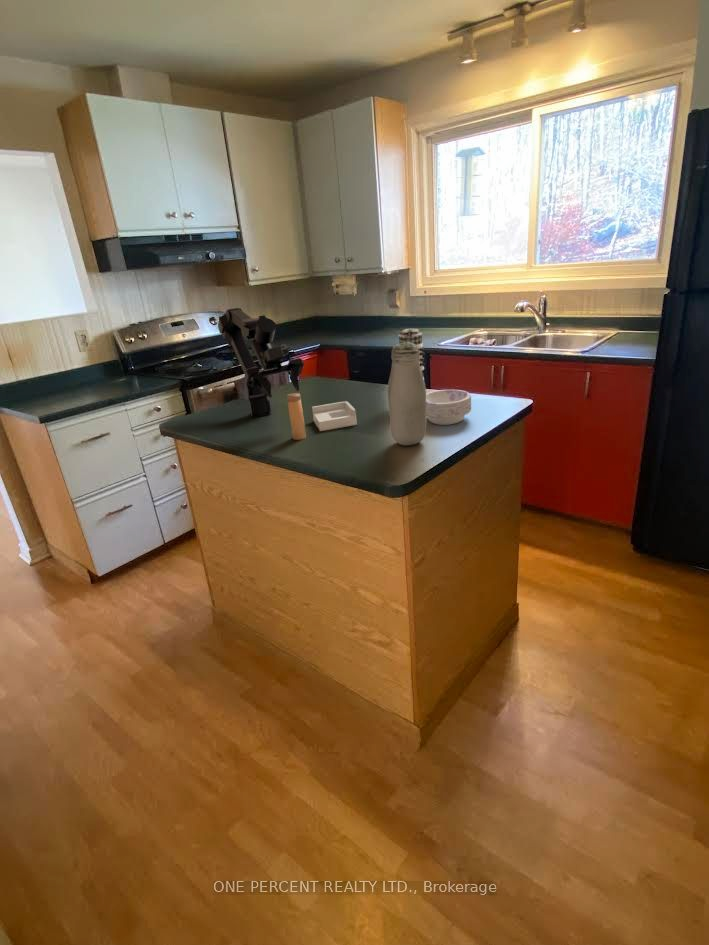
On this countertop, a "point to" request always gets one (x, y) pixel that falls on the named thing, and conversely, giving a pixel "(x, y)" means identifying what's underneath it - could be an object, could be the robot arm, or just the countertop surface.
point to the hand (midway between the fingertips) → (284, 393)
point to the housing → (334, 415)
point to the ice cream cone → (296, 416)
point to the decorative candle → (416, 338)
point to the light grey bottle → (406, 395)
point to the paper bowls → (447, 406)
